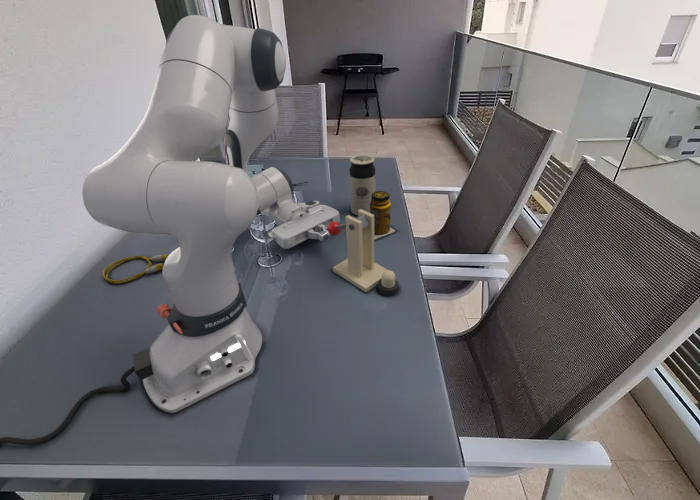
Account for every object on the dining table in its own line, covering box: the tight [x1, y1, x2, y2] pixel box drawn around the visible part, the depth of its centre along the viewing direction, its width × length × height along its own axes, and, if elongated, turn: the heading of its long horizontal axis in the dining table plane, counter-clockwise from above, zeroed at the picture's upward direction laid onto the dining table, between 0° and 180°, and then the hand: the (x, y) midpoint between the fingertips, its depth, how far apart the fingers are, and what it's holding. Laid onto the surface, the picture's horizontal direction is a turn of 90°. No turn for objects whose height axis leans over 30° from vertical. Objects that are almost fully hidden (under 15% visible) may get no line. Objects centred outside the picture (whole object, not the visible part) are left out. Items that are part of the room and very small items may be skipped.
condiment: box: [370, 190, 396, 241], centre depth 102 cm, size 7×8×12 cm
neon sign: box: [247, 164, 309, 186], centre depth 138 cm, size 21×4×29 cm
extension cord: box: [102, 254, 170, 285], centre depth 93 cm, size 12×16×2 cm
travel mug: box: [349, 154, 376, 216], centre depth 111 cm, size 8×8×18 cm
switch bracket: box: [332, 209, 388, 293], centre depth 84 cm, size 12×9×17 cm
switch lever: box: [327, 215, 369, 236], centre depth 85 cm, size 14×4×4 cm, turn 43°
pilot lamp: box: [377, 269, 399, 297], centre depth 82 cm, size 5×5×5 cm
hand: (325, 236), depth 94 cm, fingers closed
